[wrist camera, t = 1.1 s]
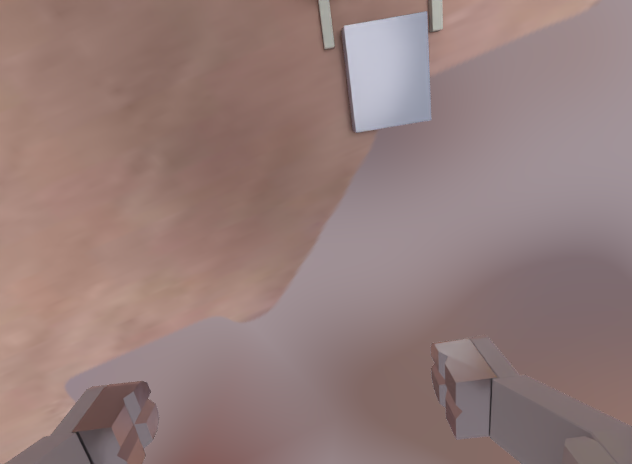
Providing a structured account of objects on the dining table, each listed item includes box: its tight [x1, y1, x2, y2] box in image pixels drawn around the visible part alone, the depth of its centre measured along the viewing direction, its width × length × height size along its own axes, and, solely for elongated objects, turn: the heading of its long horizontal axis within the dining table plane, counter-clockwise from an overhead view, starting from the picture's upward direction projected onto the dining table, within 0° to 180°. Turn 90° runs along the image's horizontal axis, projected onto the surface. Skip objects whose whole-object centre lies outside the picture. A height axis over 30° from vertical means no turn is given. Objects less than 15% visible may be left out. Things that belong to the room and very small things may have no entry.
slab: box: [341, 11, 431, 133], centre depth 37 cm, size 10×8×3 cm
